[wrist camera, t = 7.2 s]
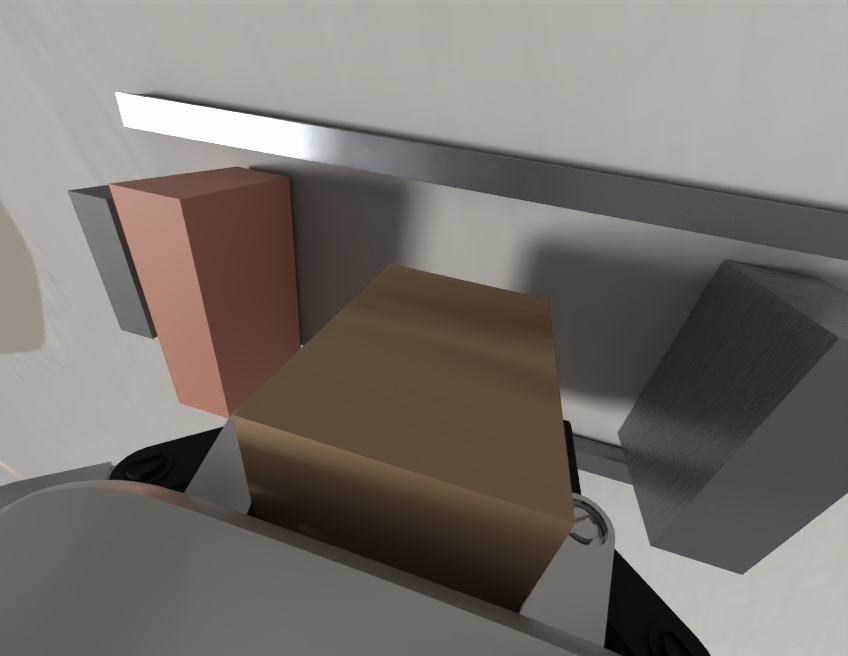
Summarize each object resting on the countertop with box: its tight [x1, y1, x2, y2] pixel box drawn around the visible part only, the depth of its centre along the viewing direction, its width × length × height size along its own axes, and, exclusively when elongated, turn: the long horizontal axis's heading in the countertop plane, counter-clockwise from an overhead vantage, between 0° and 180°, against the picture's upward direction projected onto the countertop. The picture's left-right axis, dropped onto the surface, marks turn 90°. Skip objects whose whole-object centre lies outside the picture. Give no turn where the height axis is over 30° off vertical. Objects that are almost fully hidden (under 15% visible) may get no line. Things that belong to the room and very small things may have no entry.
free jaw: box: [68, 167, 301, 418], centre depth 15 cm, size 9×7×6 cm
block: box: [232, 264, 575, 612], centre depth 10 cm, size 7×5×7 cm
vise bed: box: [115, 92, 848, 575], centre depth 14 cm, size 13×27×6 cm, turn 82°
